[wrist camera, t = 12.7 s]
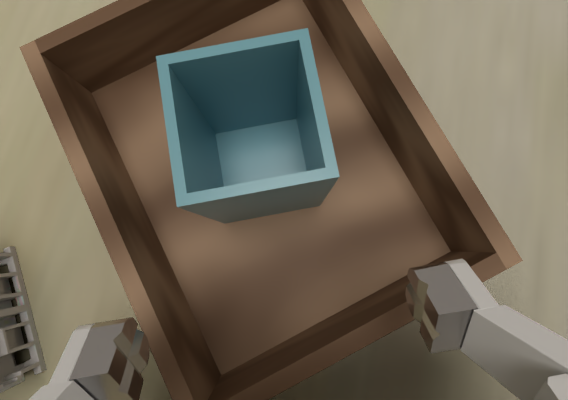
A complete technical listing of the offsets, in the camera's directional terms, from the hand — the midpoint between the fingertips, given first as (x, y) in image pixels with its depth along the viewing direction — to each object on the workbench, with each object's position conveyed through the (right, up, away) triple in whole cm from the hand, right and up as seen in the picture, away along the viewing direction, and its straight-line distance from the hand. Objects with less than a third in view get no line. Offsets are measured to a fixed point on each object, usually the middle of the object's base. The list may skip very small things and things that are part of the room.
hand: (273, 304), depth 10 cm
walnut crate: (-1, +5, +10) cm, 12 cm away
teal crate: (-1, +5, +10) cm, 11 cm away
